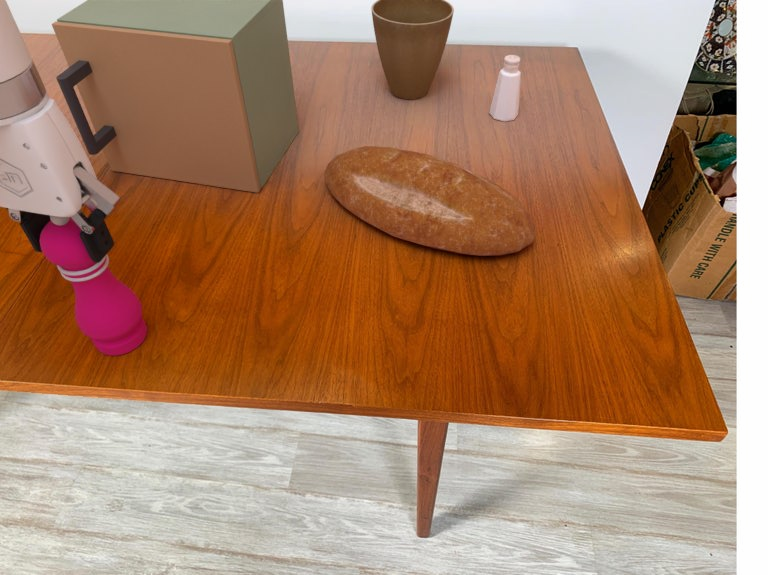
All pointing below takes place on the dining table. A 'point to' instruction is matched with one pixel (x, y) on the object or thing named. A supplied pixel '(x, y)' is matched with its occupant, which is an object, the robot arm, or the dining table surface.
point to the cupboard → (251, 48)
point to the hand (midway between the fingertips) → (75, 247)
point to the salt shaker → (507, 91)
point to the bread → (429, 201)
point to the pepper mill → (94, 290)
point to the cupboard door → (159, 104)
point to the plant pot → (411, 42)
